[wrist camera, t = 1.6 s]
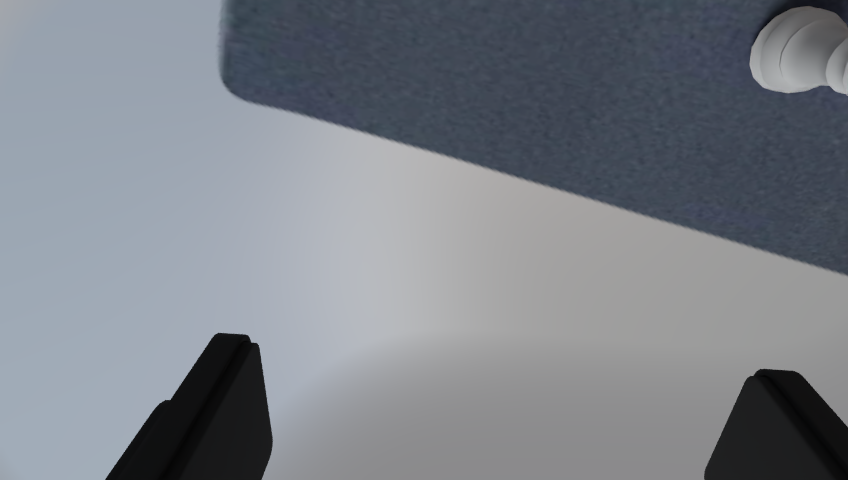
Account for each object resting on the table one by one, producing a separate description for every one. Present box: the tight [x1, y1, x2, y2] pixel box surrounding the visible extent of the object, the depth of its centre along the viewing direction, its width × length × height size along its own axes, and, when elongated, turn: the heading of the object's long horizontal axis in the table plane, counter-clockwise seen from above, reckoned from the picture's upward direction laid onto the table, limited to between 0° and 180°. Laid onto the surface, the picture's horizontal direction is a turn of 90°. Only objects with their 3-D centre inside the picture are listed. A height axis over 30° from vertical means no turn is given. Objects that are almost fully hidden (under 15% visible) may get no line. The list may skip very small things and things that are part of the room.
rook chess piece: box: [750, 6, 848, 95], centre depth 24 cm, size 4×4×8 cm
